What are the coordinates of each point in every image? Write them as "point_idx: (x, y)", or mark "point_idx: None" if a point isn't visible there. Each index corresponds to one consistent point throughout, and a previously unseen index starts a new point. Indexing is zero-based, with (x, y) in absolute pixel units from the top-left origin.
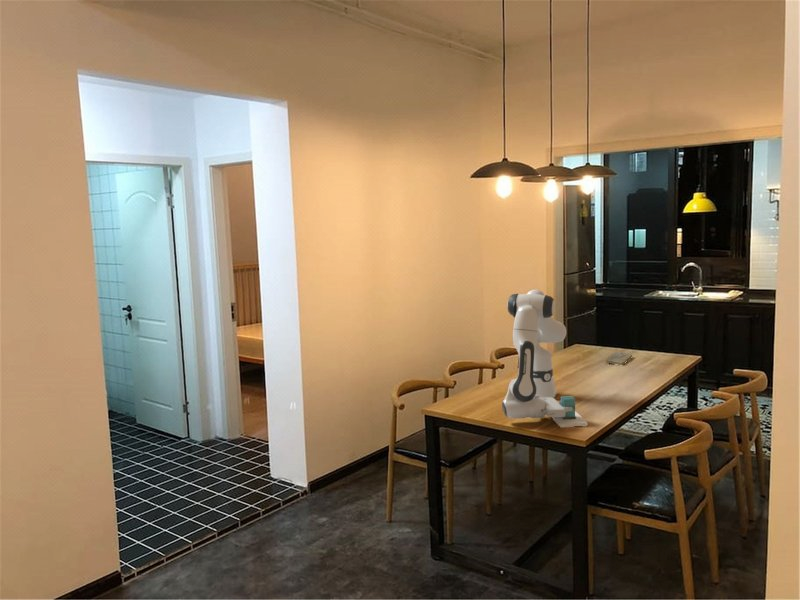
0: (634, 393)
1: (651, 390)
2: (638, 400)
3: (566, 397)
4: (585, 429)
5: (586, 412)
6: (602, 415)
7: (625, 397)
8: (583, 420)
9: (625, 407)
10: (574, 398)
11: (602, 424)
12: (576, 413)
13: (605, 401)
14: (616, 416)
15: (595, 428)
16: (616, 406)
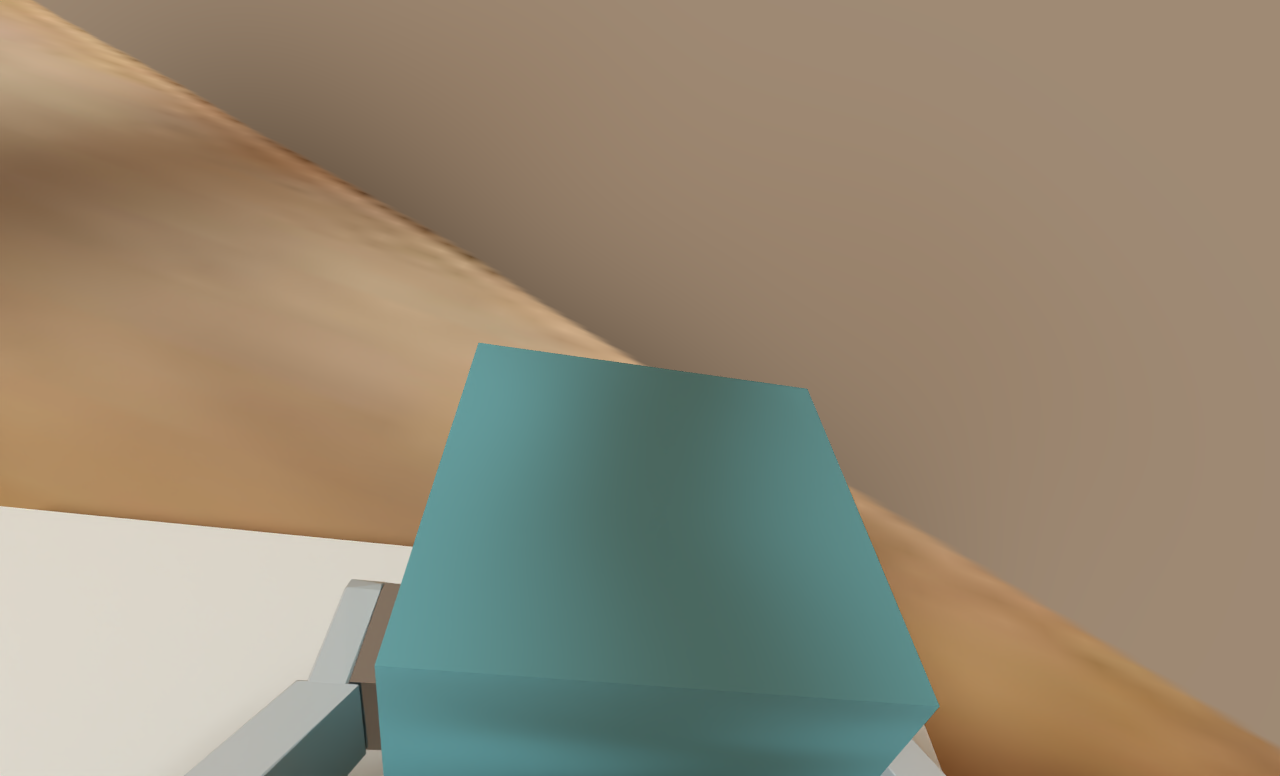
0: (21, 60)
1: (58, 26)
2: (198, 107)
3: (614, 510)
4: (1007, 705)
5: (237, 419)
6: (444, 352)
7: (56, 103)
8: None
9: (305, 187)
10: (747, 381)
11: None
12: (356, 561)
13: (10, 183)
14: (518, 298)
15: (922, 572)
16: (234, 201)
